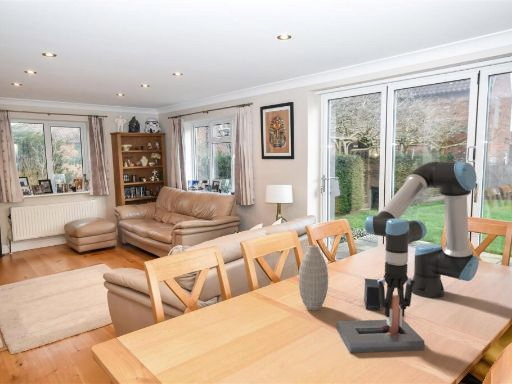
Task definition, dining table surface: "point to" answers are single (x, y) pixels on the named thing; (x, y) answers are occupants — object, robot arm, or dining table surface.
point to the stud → (394, 315)
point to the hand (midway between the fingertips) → (394, 324)
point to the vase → (313, 279)
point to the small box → (371, 294)
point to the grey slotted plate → (378, 337)
